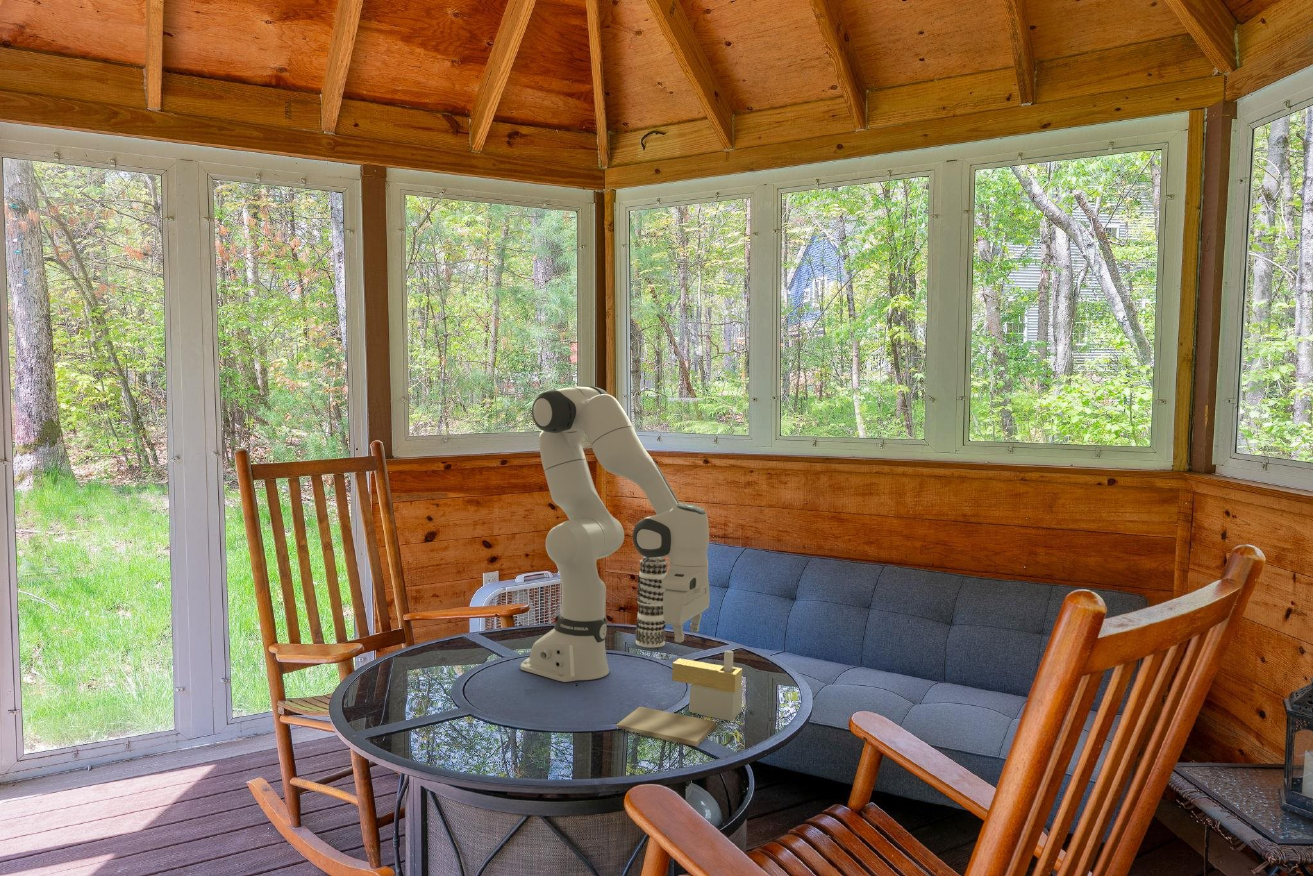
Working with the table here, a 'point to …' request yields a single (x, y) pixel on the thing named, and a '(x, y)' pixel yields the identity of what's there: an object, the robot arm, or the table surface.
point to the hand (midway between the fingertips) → (687, 636)
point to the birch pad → (667, 725)
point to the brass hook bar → (706, 675)
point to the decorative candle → (651, 603)
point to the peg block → (716, 697)
